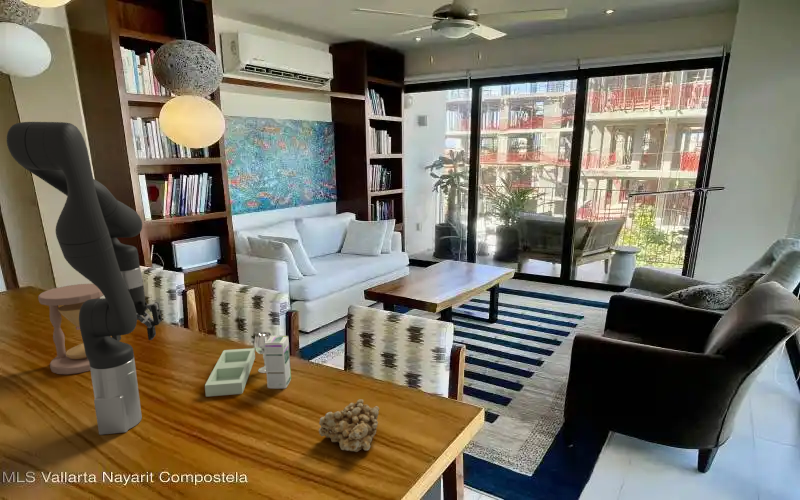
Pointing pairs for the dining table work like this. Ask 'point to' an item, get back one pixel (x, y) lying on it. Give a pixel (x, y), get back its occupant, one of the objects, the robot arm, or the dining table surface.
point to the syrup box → (277, 362)
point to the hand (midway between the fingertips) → (134, 339)
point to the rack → (230, 372)
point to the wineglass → (261, 346)
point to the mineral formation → (351, 426)
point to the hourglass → (72, 303)
